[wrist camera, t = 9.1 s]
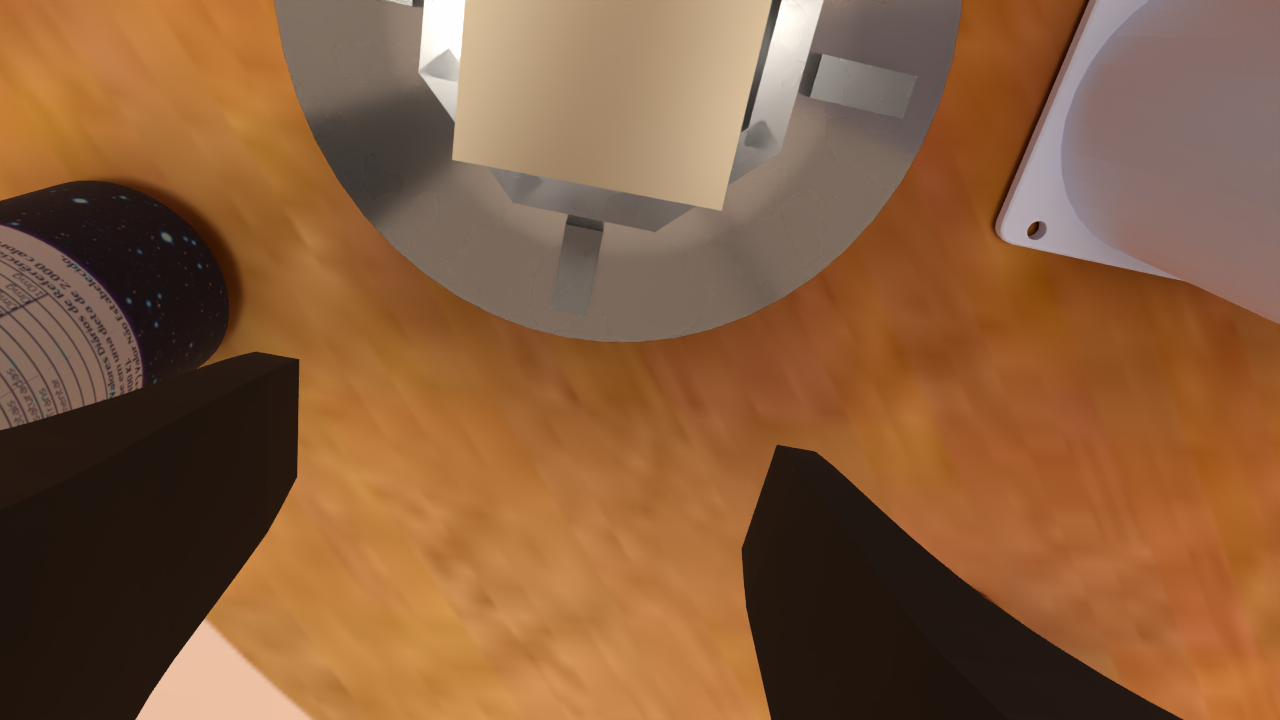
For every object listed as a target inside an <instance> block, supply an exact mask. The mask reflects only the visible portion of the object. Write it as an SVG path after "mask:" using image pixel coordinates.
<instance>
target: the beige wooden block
mask: <svg viewBox="0 0 1280 720" xmlns="http://www.w3.org/2000/svg"><path fill="white" fill-rule="evenodd" d="M771 2H772V0H465V7H464V19H463V31H462V44H461V56H460V68H459V81H458V93H457V105H456V118H455V130H454V142H453V154H452V160H456V161H462V162H467V163H472V164H477V165H483V166H488V167H493V168H499V169H504V170H509V171H514V172H520V173H525V174H530V175H536V176H541V177H546V178H551V179H557V180H562V181H567V182H572V183H578V184H583V185H588V186H594V187H599V188H604V189H609V190H615V191H620V192H625V193H630V194H636V195H641V196H646V197H652V198H657V199H662V200H667V201H673V202H678V203H683V204H689V205H694V206H699V207H704V208H710V209H715V210H720V211H722V207H723V203H724V198H725V194H726V190H727V186H728V182H729V178H730V173H731V169H732V165H733V161H734V157H735V152H736V148H737V144H738V140H739V136H740V132H741V127H742V123H743V119H744V115H745V111H746V107H747V102H748V98H749V94H750V90H751V86H752V82H753V77H754V73H755V69H756V65H757V61H758V57H759V52H760V48H761V44H762V40H763V36H764V32H765V27H766V23H767V19H768V15H769V11H770V7H771Z"/></svg>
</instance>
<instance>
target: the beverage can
mask: <svg viewBox="0 0 1280 720" xmlns="http://www.w3.org/2000/svg"><path fill="white" fill-rule="evenodd" d="M228 317H229V300H228V293H227V288H226V284H225V281H224V278H223V275H222V273H221V270H220V268H219V266H218V264H217V262H216V260H215V258H214V256H213V254H212V253H211V251H210V250H209V248H208V247H207V245H206V244H205V243H204V241H203V240H202V239H201V237H200V236H199V235H198V234H197V233H196V232H195V230H194V229H193V228H192V227H191V226H190V225H189V224H188V223H186V222H185V221H184V220H183V219H182V218H181V217H180V216H178V215H177V214H176V213H175V212H173V211H172V210H171V209H169V208H168V207H166V206H165V205H163V204H162V203H160V202H158V201H157V200H155V199H153V198H151V197H149V196H147V195H145V194H143V193H141V192H139V191H136V190H133V189H131V188H128V187H124V186H121V185H117V184H113V183H107V182H100V181H75V182H68V183H64V184H60V185H56V186H52V187H49V188H45V189H42V190H38V191H34V192H31V193H27V194H24V195H20V196H16V197H13V198H9V199H6V200H2V201H0V430H3V429H7V428H11V427H15V426H18V425H22V424H26V423H29V422H33V421H37V420H40V419H43V418H46V417H50V416H53V415H56V414H60V413H63V412H66V411H70V410H73V409H76V408H79V407H83V406H86V405H89V404H93V403H96V402H99V401H103V400H106V399H109V398H112V397H116V396H119V395H122V394H125V393H128V392H131V391H134V390H137V389H140V388H143V387H146V386H149V385H152V384H154V383H157V382H160V381H163V380H166V379H169V378H172V377H175V376H178V375H181V374H184V373H187V372H190V371H193V370H196V369H197V368H198V367H200V366H201V365H202V364H204V363H205V362H206V361H207V360H208V359H209V358H210V357H211V356H212V355H213V354H214V353H215V351H216V350H217V348H218V347H219V345H220V343H221V342H222V339H223V337H224V335H225V331H226V328H227V324H228Z"/></svg>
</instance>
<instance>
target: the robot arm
mask: <svg viewBox="0 0 1280 720" xmlns="http://www.w3.org/2000/svg"><path fill="white" fill-rule="evenodd" d="M1036 221H1039V229H1038V230H1037V232H1036V233H1035V234H1033V235H1031V236H1028V235H1027V230H1028V228H1029V226H1030V225H1031V224H1032V223H1034V222H1036ZM995 229H996V234H997V235H998V236H999V237H1000V239H1002V240H1004V241H1006V242H1008V243H1010V244H1013V245H1018V246H1023V247H1027V248H1032V249H1037V250H1041V251H1046V252H1051V253H1055V254H1060V255H1065V256H1069V257H1074V258H1079V259H1083V260H1088V261H1093V262H1097V263H1102V264H1107V265H1111V266H1116V267H1121V268H1125V269H1130V270H1135V271H1139V272H1144V273H1149V274H1153V275H1158V276H1162V277H1167V278H1172V279H1176V280H1181V281H1186V282H1188V283H1190V284H1192V285H1195V286H1197V287H1199V288H1201V289H1203V290H1205V291H1208V292H1210V293H1212V294H1214V295H1216V296H1219V297H1221V298H1223V299H1225V300H1227V301H1229V302H1232V303H1234V304H1236V305H1238V306H1240V307H1243V308H1245V309H1247V310H1249V311H1251V312H1253V313H1256V314H1258V315H1260V316H1262V317H1264V318H1267V319H1269V320H1271V321H1273V322H1275V323H1277V324H1280V0H1089V3H1088V5H1087V7H1086V10H1085V12H1084V14H1083V17H1082V19H1081V22H1080V24H1079V26H1078V29H1077V31H1076V33H1075V36H1074V38H1073V41H1072V43H1071V45H1070V48H1069V50H1068V52H1067V55H1066V57H1065V60H1064V62H1063V64H1062V67H1061V69H1060V71H1059V74H1058V76H1057V78H1056V81H1055V83H1054V86H1053V88H1052V90H1051V93H1050V95H1049V97H1048V100H1047V102H1046V105H1045V107H1044V109H1043V112H1042V114H1041V116H1040V119H1039V121H1038V124H1037V126H1036V128H1035V131H1034V133H1033V135H1032V138H1031V140H1030V142H1029V145H1028V147H1027V150H1026V152H1025V154H1024V157H1023V159H1022V161H1021V164H1020V166H1019V169H1018V171H1017V173H1016V176H1015V178H1014V180H1013V183H1012V185H1011V187H1010V190H1009V192H1008V195H1007V197H1006V199H1005V202H1004V204H1003V206H1002V209H1001V211H1000V214H999V216H998V218H997V221H996V226H995ZM298 397H299V359H294V358H288V357H283V356H277V355H272V354H266V353H260V352H252V353H248V354H243V355H240V356H236V357H233V358H229V359H226V360H223V361H220V362H217V363H213V364H210V365H207V366H204V367H201V368H199V369H196V370H193V371H190V372H187V373H184V374H181V375H178V376H175V377H172V378H169V379H166V380H163V381H160V382H157V383H154V384H152V385H149V386H146V387H143V388H140V389H137V390H134V391H131V392H128V393H125V394H122V395H119V396H116V397H112V398H109V399H106V400H103V401H99V402H96V403H93V404H89V405H86V406H83V407H79V408H76V409H73V410H70V411H66V412H63V413H60V414H56V415H53V416H50V417H46V418H43V419H40V420H37V421H33V422H29V423H26V424H22V425H18V426H15V427H11V428H7V429H3V430H0V720H135V719H136V718H137V716H138V714H139V713H140V711H141V709H142V708H143V706H144V704H145V702H146V701H147V699H148V697H149V696H150V694H151V693H152V691H153V690H154V688H155V687H156V685H157V684H158V682H159V681H160V679H161V678H162V676H163V675H164V673H165V672H166V671H167V669H168V668H169V666H170V665H171V663H172V662H173V660H174V659H175V657H176V656H177V655H178V654H179V652H180V651H181V650H182V648H183V647H184V645H185V644H186V643H187V641H188V640H189V639H190V637H191V636H192V635H193V633H194V632H195V631H196V629H197V628H198V626H199V625H200V624H201V622H202V621H203V620H204V619H205V617H206V616H207V614H208V613H209V612H210V610H211V609H212V608H213V606H214V605H215V604H216V602H217V601H218V600H219V598H220V597H221V596H222V594H223V593H224V592H225V590H226V589H227V587H228V586H229V585H230V583H231V582H232V581H233V579H234V578H235V577H236V575H237V574H238V573H239V571H240V570H241V568H242V567H243V566H244V564H245V563H246V562H247V560H248V559H249V557H250V556H251V555H252V553H253V552H254V551H255V549H256V548H257V546H258V545H259V544H260V542H261V541H262V539H263V538H264V537H265V535H266V534H267V532H268V530H269V529H270V527H271V525H272V523H273V521H274V520H275V518H276V516H277V514H278V512H279V511H280V509H281V507H282V505H283V503H284V501H285V499H286V497H287V495H288V493H289V491H290V489H291V487H292V486H293V484H294V482H295V480H296V478H297V454H298ZM742 561H743V576H744V588H745V598H746V608H747V613H748V618H749V622H750V627H751V631H752V636H753V641H754V645H755V650H756V654H757V659H758V663H759V667H760V672H761V676H762V681H763V685H764V689H765V694H766V698H767V703H768V707H769V711H770V716H771V720H1183V719H1181V718H1179V717H1177V716H1175V715H1174V714H1172V713H1170V712H1168V711H1166V710H1164V709H1162V708H1160V707H1158V706H1157V705H1155V704H1153V703H1151V702H1149V701H1147V700H1146V699H1144V698H1142V697H1140V696H1138V695H1137V694H1135V693H1133V692H1131V691H1130V690H1128V689H1126V688H1124V687H1123V686H1121V685H1119V684H1117V683H1116V682H1114V681H1112V680H1110V679H1109V678H1107V677H1105V676H1104V675H1102V674H1100V673H1099V672H1097V671H1096V670H1094V669H1092V668H1091V667H1089V666H1087V665H1086V664H1084V663H1083V662H1081V661H1079V660H1078V659H1076V658H1074V657H1073V656H1071V655H1070V654H1068V653H1066V652H1065V651H1063V650H1061V649H1060V648H1058V647H1056V646H1055V645H1053V644H1052V643H1050V642H1049V641H1047V640H1046V639H1044V638H1043V637H1041V636H1040V635H1038V634H1037V633H1035V632H1034V631H1032V630H1031V629H1029V628H1028V627H1026V626H1025V625H1023V624H1022V623H1021V622H1019V621H1018V620H1016V619H1015V618H1014V617H1012V616H1011V615H1009V614H1008V613H1007V612H1005V611H1004V610H1002V609H1001V608H1000V607H998V606H997V605H995V604H994V603H992V602H991V601H990V600H988V599H987V598H985V597H984V596H983V595H981V594H980V593H979V592H977V591H976V590H975V589H974V588H972V587H971V586H970V585H968V584H967V583H966V582H964V581H963V580H962V579H961V578H959V577H958V576H957V575H956V574H954V573H953V572H952V571H951V570H950V569H948V568H947V567H946V566H945V565H944V564H942V563H941V562H940V561H939V560H937V559H936V558H935V557H934V556H933V555H931V554H930V553H929V552H928V551H927V550H925V549H924V548H923V547H922V546H921V545H920V544H918V543H917V542H916V541H915V540H914V539H913V538H912V537H910V536H909V535H908V534H907V533H906V532H905V531H904V530H903V529H901V528H900V527H899V526H898V525H897V524H896V523H895V522H894V521H893V520H891V519H890V518H889V517H888V516H887V515H886V514H885V513H884V512H883V511H882V510H880V509H879V508H878V507H877V506H876V505H875V504H874V503H873V502H872V501H871V500H870V499H869V498H868V497H866V496H865V495H864V494H863V493H862V492H861V491H860V490H859V489H858V488H857V487H856V486H855V485H854V484H852V483H851V482H850V481H849V480H848V479H847V478H846V477H845V476H844V475H843V474H842V473H840V472H839V471H838V470H837V469H836V468H835V467H834V466H833V465H831V464H830V463H829V462H828V461H827V460H825V459H824V458H823V457H822V456H820V455H819V454H818V453H816V452H815V451H809V450H803V449H798V448H792V447H787V446H781V445H777V446H776V449H775V452H774V455H773V458H772V461H771V464H770V467H769V470H768V473H767V476H766V479H765V482H764V485H763V488H762V491H761V493H760V496H759V499H758V502H757V505H756V508H755V511H754V514H753V517H752V520H751V523H750V526H749V529H748V532H747V535H746V538H745V541H744V544H743V547H742Z"/></svg>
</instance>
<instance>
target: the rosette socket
mask: <svg viewBox="0 0 1280 720" xmlns="http://www.w3.org/2000/svg"><path fill="white" fill-rule="evenodd" d="M274 3H275V8H276V14H277V20H278V25H279V31H280V36H281V42H282V48H283V52H284V55H285V59H286V62H287V65H288V69H289V72H290V75H291V79H292V82H293V85H294V89H295V92H296V95H297V98H298V100H299V103H300V105H301V107H302V110H303V112H304V114H305V117H306V119H307V121H308V124H309V126H310V128H311V131H312V133H313V135H314V138H315V140H316V142H317V144H318V145H319V147H320V149H321V151H322V152H323V154H324V156H325V158H326V159H327V161H328V163H329V165H330V166H331V168H332V170H333V172H334V173H335V175H336V177H337V179H338V180H339V182H340V183H341V184H342V186H343V187H344V188H345V190H346V191H347V193H348V194H349V195H350V197H351V198H352V199H353V201H354V202H355V203H356V205H357V206H358V208H359V209H360V210H361V212H362V213H363V214H364V216H365V217H366V218H367V219H368V220H369V221H370V222H371V223H372V224H373V225H374V227H375V228H376V229H377V230H378V231H379V232H380V233H381V234H382V235H383V236H384V237H385V238H386V240H387V241H388V242H389V243H390V244H391V245H392V246H393V247H394V248H395V249H396V250H398V251H399V252H400V253H401V254H402V255H403V256H404V257H406V258H407V259H408V260H409V261H410V262H411V263H413V264H414V265H415V266H416V267H417V268H418V269H419V270H421V271H422V272H423V273H424V274H426V275H427V276H429V277H430V278H431V279H433V280H434V281H436V282H437V283H439V284H440V285H442V286H443V287H445V288H446V289H448V290H449V291H451V292H452V293H453V294H455V295H456V296H458V297H460V298H462V299H464V300H466V301H468V302H470V303H471V304H473V305H475V306H477V307H479V308H481V309H483V310H485V311H487V312H489V313H491V314H493V315H495V316H498V317H501V318H503V319H506V320H508V321H511V322H514V323H516V324H519V325H522V326H524V327H527V328H530V329H534V330H538V331H542V332H546V333H550V334H554V335H558V336H562V337H568V338H575V339H583V340H591V341H599V342H644V341H652V340H661V339H670V338H677V337H681V336H686V335H690V334H694V333H698V332H702V331H707V330H711V329H714V328H717V327H719V326H722V325H725V324H727V323H730V322H733V321H736V320H738V319H741V318H744V317H746V316H749V315H751V314H753V313H755V312H757V311H758V310H760V309H762V308H764V307H766V306H768V305H770V304H772V303H774V302H776V301H778V300H780V299H782V298H783V297H785V296H786V295H788V294H789V293H791V292H792V291H794V290H795V289H797V288H798V287H800V286H801V285H803V284H804V283H806V282H807V281H809V280H810V279H812V278H813V277H815V276H816V275H817V274H818V273H819V272H821V271H822V270H823V269H824V268H825V267H826V266H828V265H829V264H830V263H831V262H832V261H833V260H835V259H836V258H837V257H838V256H839V255H840V254H842V253H843V252H844V251H845V250H846V249H847V248H848V247H849V246H850V245H851V244H852V243H853V242H854V240H855V239H856V238H857V237H858V236H859V235H860V234H861V233H862V232H863V231H864V230H865V229H866V228H867V226H868V225H869V224H870V223H871V222H872V221H873V220H874V219H875V217H876V216H877V215H878V213H879V212H880V210H881V209H882V208H883V206H884V205H885V204H886V202H887V201H888V200H889V198H890V197H891V195H892V194H893V193H894V191H895V190H896V189H897V187H898V186H899V184H900V183H901V181H902V179H903V177H904V176H905V174H906V172H907V170H908V169H909V167H910V165H911V163H912V162H913V160H914V158H915V156H916V155H917V153H918V151H919V149H920V148H921V146H922V143H923V141H924V139H925V136H926V134H927V132H928V129H929V127H930V125H931V122H932V120H933V118H934V115H935V113H936V111H937V108H938V106H939V103H940V100H941V97H942V93H943V90H944V87H945V83H946V80H947V77H948V73H949V70H950V67H951V63H952V60H953V55H954V49H955V44H956V38H957V33H958V27H959V22H960V16H961V10H962V0H772V2H771V7H770V11H769V15H768V19H767V23H766V27H765V32H764V36H763V40H762V44H761V48H760V52H759V57H758V61H757V65H756V69H755V73H754V77H753V82H752V86H751V90H750V94H749V98H748V102H747V107H746V111H745V115H744V119H743V123H742V127H741V132H740V136H739V140H738V144H737V148H736V152H735V157H734V161H733V165H732V169H731V173H730V178H729V182H728V186H727V190H726V194H725V198H724V203H723V207H722V211H720V210H715V209H710V208H704V207H699V206H694V205H689V204H683V203H678V202H673V201H667V200H662V199H657V198H652V197H646V196H641V195H636V194H630V193H625V192H620V191H615V190H609V189H604V188H599V187H594V186H588V185H583V184H578V183H572V182H567V181H562V180H557V179H551V178H546V177H541V176H536V175H530V174H525V173H520V172H514V171H509V170H504V169H499V168H493V167H488V166H483V165H477V164H472V163H467V162H462V161H456V160H452V154H453V142H454V130H455V118H456V105H457V93H458V81H459V68H460V56H461V44H462V31H463V19H464V7H465V0H274Z"/></svg>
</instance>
